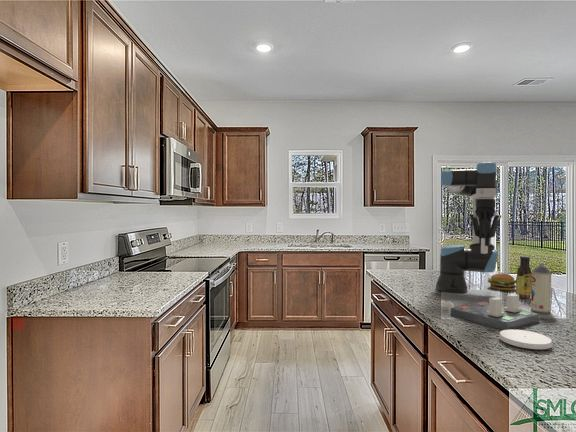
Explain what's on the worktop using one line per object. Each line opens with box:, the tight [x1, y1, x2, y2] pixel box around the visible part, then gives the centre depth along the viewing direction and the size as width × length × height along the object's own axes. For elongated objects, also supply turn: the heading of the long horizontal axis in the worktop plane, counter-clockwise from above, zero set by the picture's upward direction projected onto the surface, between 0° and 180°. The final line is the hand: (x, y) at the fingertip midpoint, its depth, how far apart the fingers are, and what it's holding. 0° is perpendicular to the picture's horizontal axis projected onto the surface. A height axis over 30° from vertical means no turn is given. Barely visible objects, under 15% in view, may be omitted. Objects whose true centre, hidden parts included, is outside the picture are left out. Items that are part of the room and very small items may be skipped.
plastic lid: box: [499, 329, 553, 350], centre depth 121 cm, size 14×14×2 cm
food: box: [487, 273, 517, 291], centre depth 207 cm, size 14×14×8 cm
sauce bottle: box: [515, 255, 532, 299], centre depth 186 cm, size 6×6×20 cm
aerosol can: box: [530, 262, 552, 315], centre depth 160 cm, size 7×7×20 cm
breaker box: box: [450, 300, 540, 331], centre depth 149 cm, size 22×22×3 cm
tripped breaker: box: [486, 296, 505, 317], centre depth 142 cm, size 4×5×6 cm
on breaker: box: [504, 293, 522, 313], centre depth 148 cm, size 4×5×6 cm
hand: (484, 253), depth 166 cm, fingers closed
